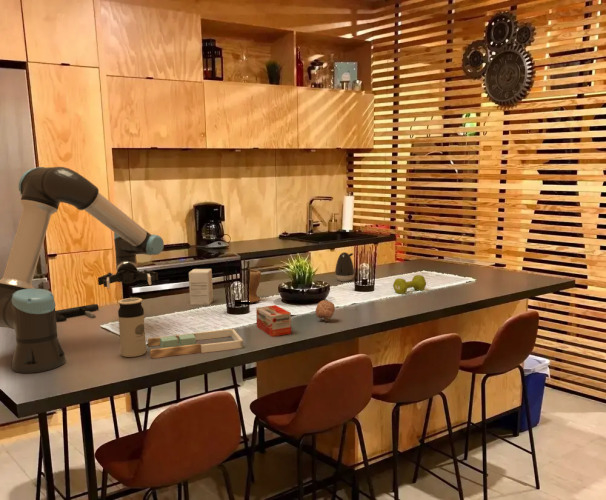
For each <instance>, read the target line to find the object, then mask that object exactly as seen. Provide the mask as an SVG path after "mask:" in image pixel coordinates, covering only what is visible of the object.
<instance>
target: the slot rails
mask: <svg viewBox="0 0 606 500" xmlns="http://www.w3.org/2000/svg"><path fill="white" fill-rule="evenodd" d="M195 333H196V332H193V333H191V334H194V336H195ZM186 334H187V333H185V334H182V335H186ZM179 335H180V334H175V335H173V336H176V338H177V339H178V344H179ZM168 336H169V335H168ZM168 336H166V335H165V336H164V337H168ZM161 337H162V336H158V337H157V336H156V337H151V338H149V337H148V338H147V347H157V346H159V348H153V349H150V352H149V353H150V359H157V358H166V357H174V356H182V355H190V354H197V353H201V345H202V344H201V343H196V344H193V345H184V346H179V345H178V346H176V347H168V348H160V338H161Z"/></svg>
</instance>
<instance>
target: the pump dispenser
mask: <svg viewBox="0 0 606 500" xmlns="http://www.w3.org/2000/svg"><path fill="white" fill-rule="evenodd" d="M353 255H354V254H353V252H351V253H348V252H341V253H340V254H339V255H338V258H337V260H336V264H335V269H334V274H335V277H336V278H337V280H338V281H340V282H350V281H352V279H353V278H354V275H355V267H354V263H353V260H352V256H353Z"/></svg>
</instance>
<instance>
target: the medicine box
mask: <svg viewBox="0 0 606 500" xmlns="http://www.w3.org/2000/svg"><path fill="white" fill-rule="evenodd" d="M255 311H256V312H255V313H256V328H257V329H259V330H260V331H262V332H264V333H265V334H267V336H270V337H271V338H274V337H280V336H285V335H291V334H292V312H290V311H288V310H286V309H284V308H282V307H280V306H278V305H277V304H274V305H273V304H272V305H268V306H267V305H266V306H260V307H256V309H255Z"/></svg>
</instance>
